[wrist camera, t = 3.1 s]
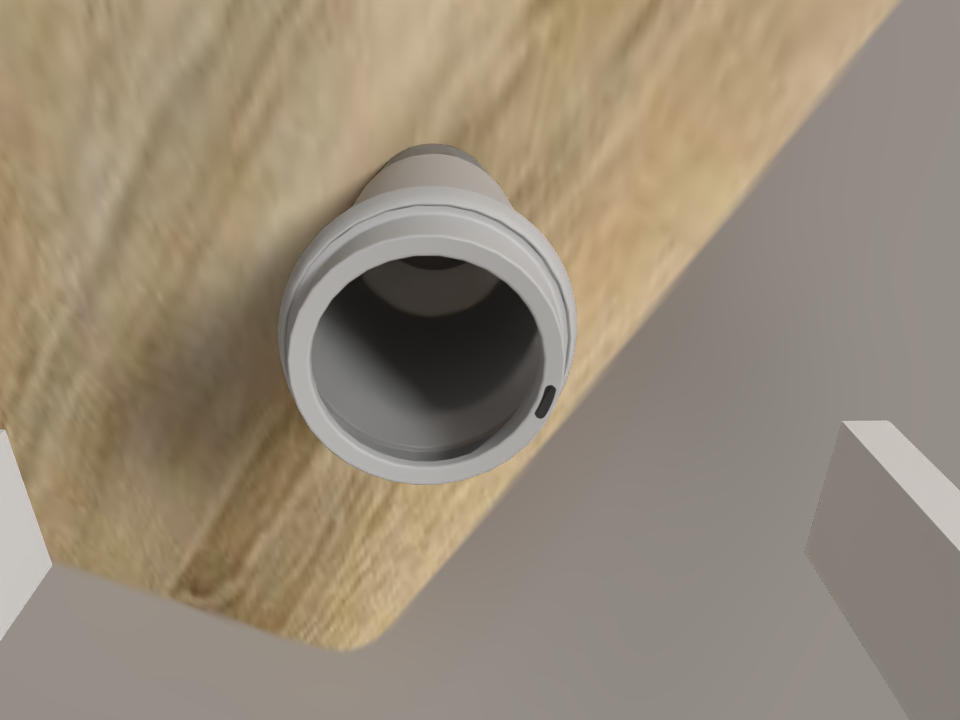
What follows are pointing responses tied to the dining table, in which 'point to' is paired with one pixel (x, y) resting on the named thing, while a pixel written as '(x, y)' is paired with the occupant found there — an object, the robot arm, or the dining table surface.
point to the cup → (427, 324)
